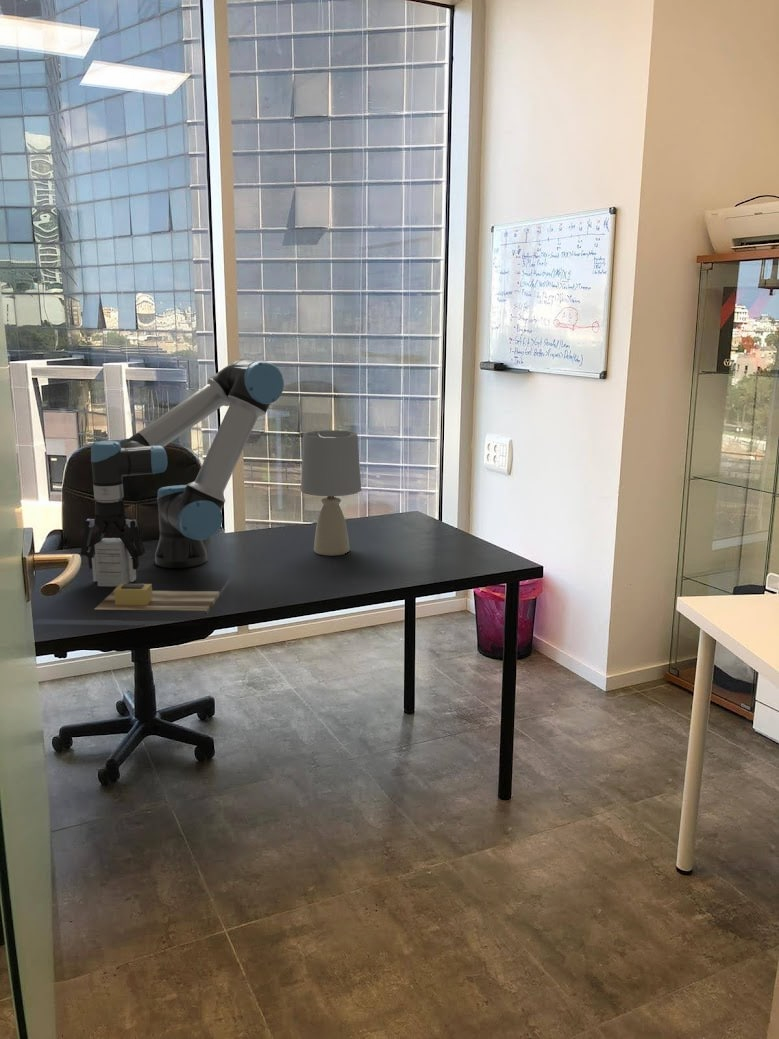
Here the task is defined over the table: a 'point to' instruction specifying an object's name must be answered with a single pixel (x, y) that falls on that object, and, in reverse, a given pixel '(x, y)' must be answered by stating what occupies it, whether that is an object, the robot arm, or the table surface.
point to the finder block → (133, 594)
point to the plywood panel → (168, 601)
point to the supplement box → (112, 562)
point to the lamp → (330, 483)
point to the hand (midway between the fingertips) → (114, 580)
